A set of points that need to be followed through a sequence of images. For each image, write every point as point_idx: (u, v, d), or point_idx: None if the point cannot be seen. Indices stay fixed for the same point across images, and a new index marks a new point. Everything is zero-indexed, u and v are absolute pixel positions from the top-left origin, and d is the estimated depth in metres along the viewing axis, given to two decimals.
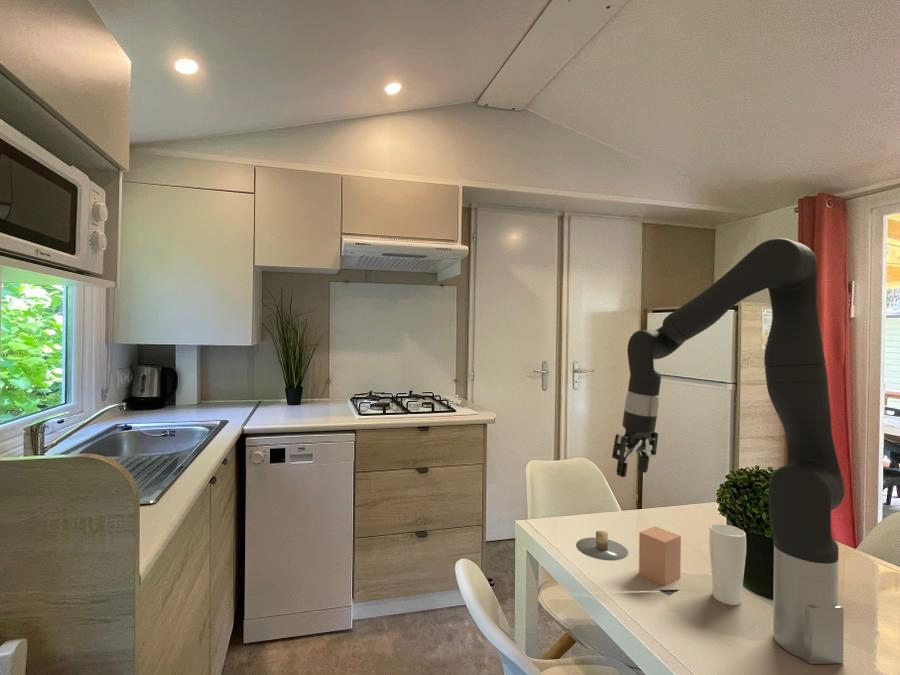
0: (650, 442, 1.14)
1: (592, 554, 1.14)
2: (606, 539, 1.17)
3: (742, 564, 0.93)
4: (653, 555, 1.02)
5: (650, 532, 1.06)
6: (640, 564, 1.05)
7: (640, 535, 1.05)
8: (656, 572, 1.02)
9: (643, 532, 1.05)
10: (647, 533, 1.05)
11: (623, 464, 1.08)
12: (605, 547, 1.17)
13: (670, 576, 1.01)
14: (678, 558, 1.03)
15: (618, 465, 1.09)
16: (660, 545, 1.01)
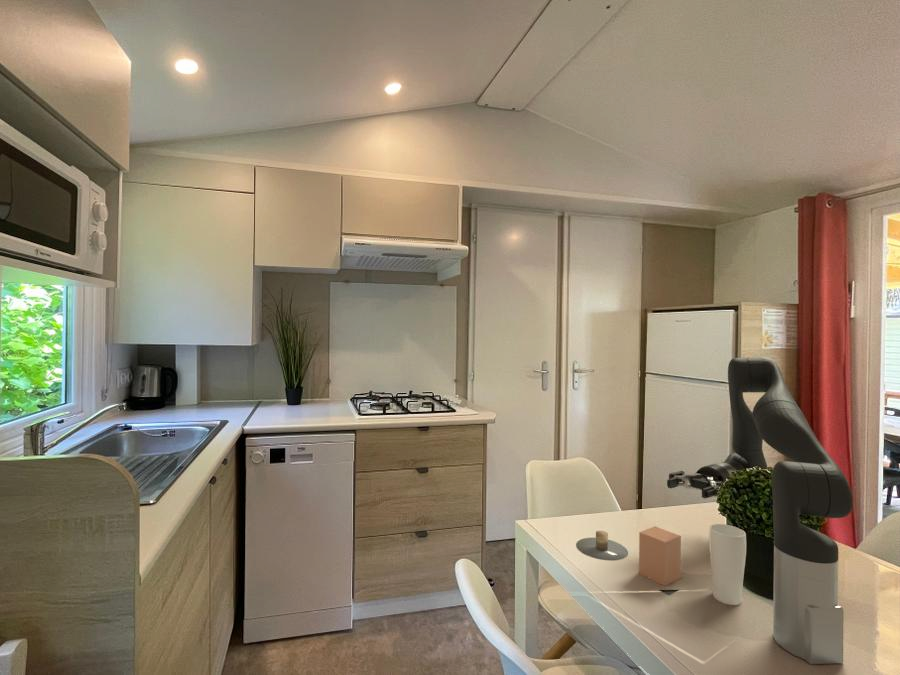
0: None
1: (592, 554, 1.14)
2: (606, 539, 1.17)
3: (742, 564, 0.93)
4: (653, 555, 1.02)
5: (650, 532, 1.06)
6: (640, 564, 1.05)
7: (640, 535, 1.05)
8: (656, 572, 1.02)
9: (643, 532, 1.05)
10: (647, 533, 1.05)
11: None
12: (605, 547, 1.17)
13: (670, 576, 1.01)
14: (678, 558, 1.03)
15: None
16: (660, 545, 1.01)
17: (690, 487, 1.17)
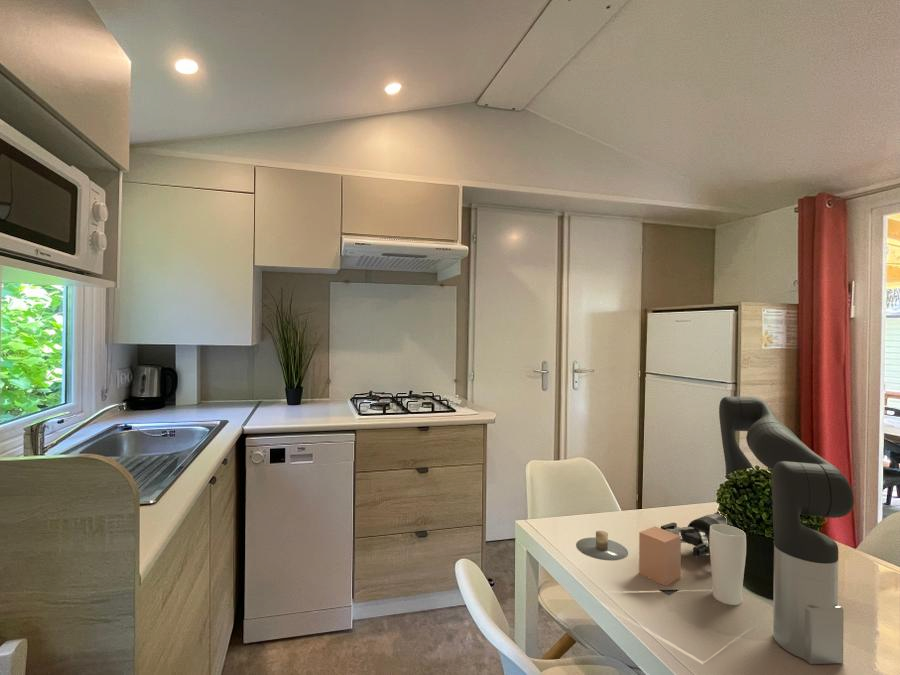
0: None
1: (592, 554, 1.14)
2: (606, 539, 1.17)
3: (742, 564, 0.93)
4: (653, 555, 1.02)
5: (650, 532, 1.06)
6: (640, 564, 1.05)
7: (640, 535, 1.05)
8: (656, 572, 1.02)
9: (643, 532, 1.05)
10: (647, 533, 1.05)
11: None
12: (605, 547, 1.17)
13: (670, 576, 1.01)
14: (678, 558, 1.03)
15: None
16: (660, 545, 1.01)
17: (682, 541, 1.14)
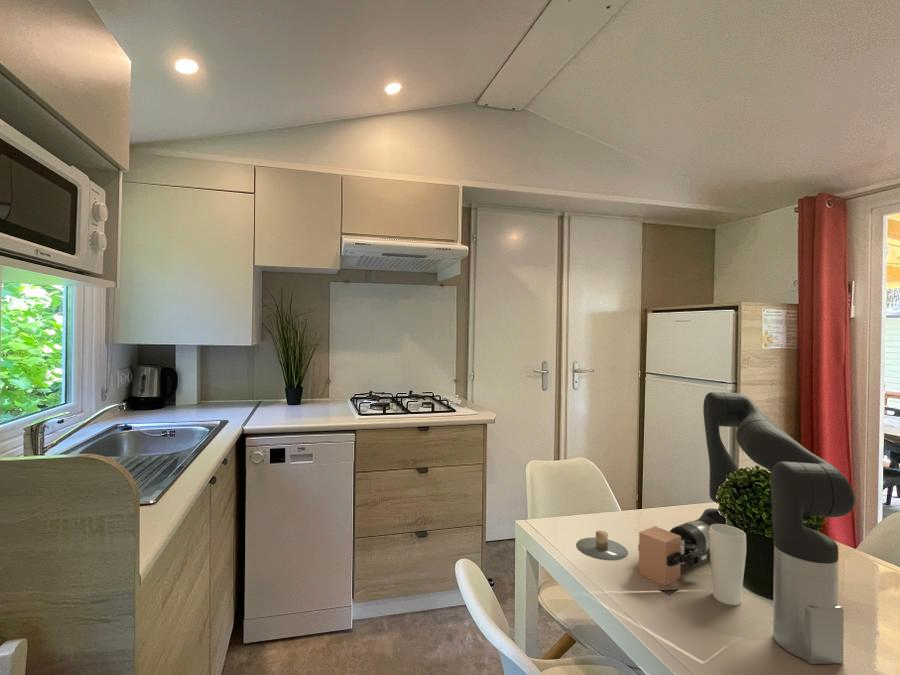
0: None
1: (592, 554, 1.14)
2: (606, 539, 1.17)
3: (742, 564, 0.93)
4: (653, 555, 1.02)
5: (650, 532, 1.06)
6: (640, 564, 1.05)
7: (640, 535, 1.05)
8: (656, 572, 1.02)
9: (643, 532, 1.05)
10: (647, 533, 1.05)
11: None
12: (605, 547, 1.17)
13: (670, 576, 1.01)
14: None
15: None
16: (660, 545, 1.01)
17: None
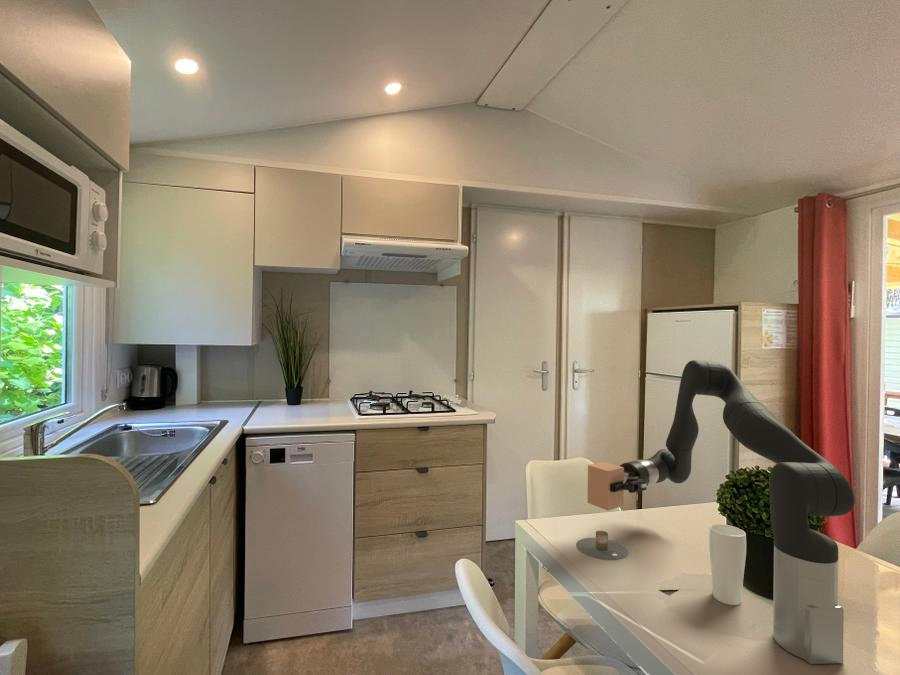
0: None
1: (592, 554, 1.14)
2: (606, 539, 1.17)
3: (742, 564, 0.93)
4: (599, 484, 1.16)
5: (598, 465, 1.19)
6: (588, 493, 1.18)
7: (588, 467, 1.18)
8: (601, 498, 1.15)
9: (591, 465, 1.19)
10: (594, 465, 1.18)
11: None
12: (605, 547, 1.17)
13: (613, 501, 1.15)
14: None
15: None
16: (604, 474, 1.14)
17: None
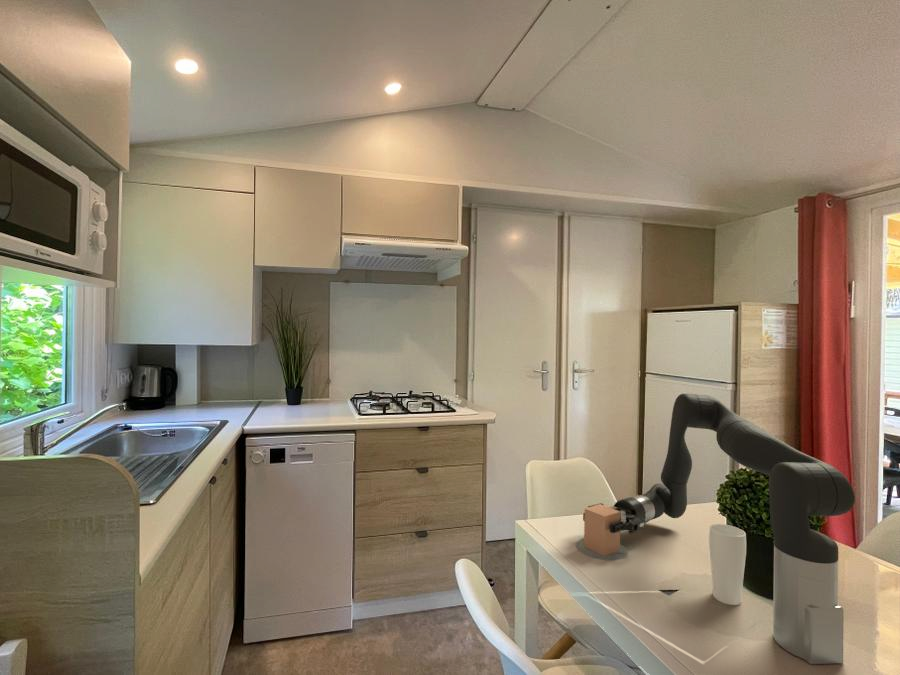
0: None
1: (592, 554, 1.14)
2: None
3: (742, 564, 0.93)
4: (595, 528, 1.16)
5: (594, 508, 1.19)
6: (585, 537, 1.19)
7: (585, 511, 1.19)
8: (597, 543, 1.15)
9: (588, 508, 1.19)
10: (591, 509, 1.18)
11: None
12: None
13: (609, 546, 1.15)
14: None
15: None
16: (600, 519, 1.15)
17: None
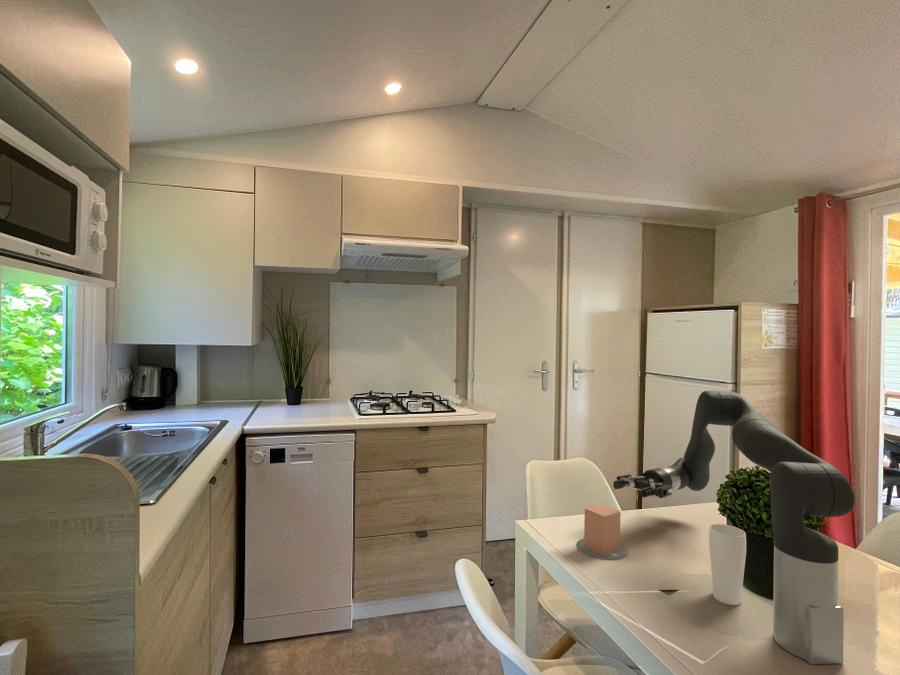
0: None
1: (592, 554, 1.14)
2: None
3: (742, 564, 0.93)
4: (595, 528, 1.16)
5: (594, 508, 1.19)
6: (585, 537, 1.19)
7: (585, 511, 1.19)
8: (597, 543, 1.15)
9: (588, 508, 1.19)
10: (591, 509, 1.18)
11: None
12: None
13: (609, 546, 1.15)
14: (618, 531, 1.17)
15: None
16: (601, 519, 1.15)
17: (634, 488, 1.29)
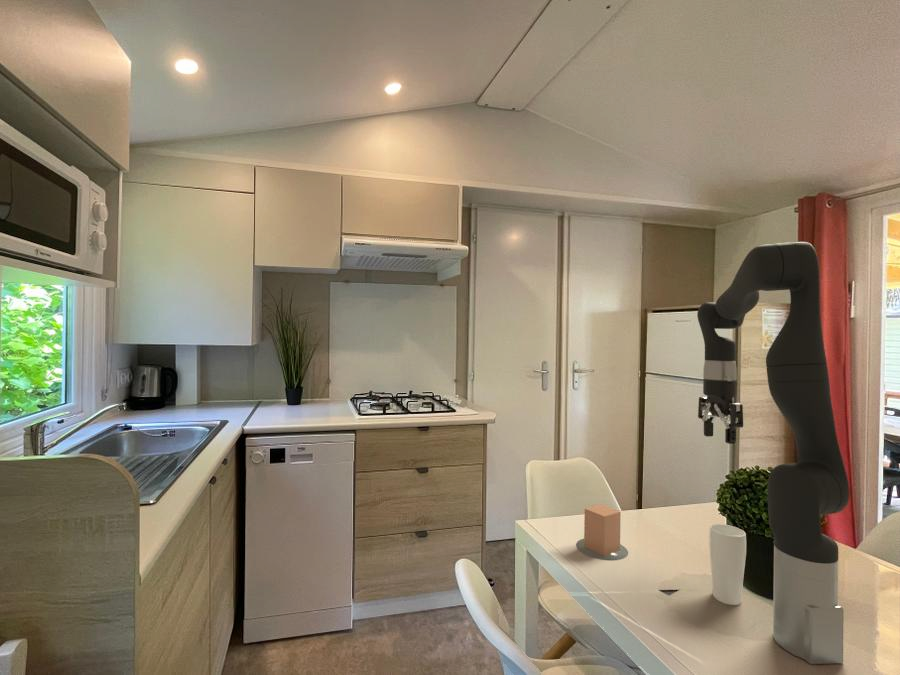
0: None
1: (592, 554, 1.14)
2: None
3: (742, 564, 0.93)
4: (595, 528, 1.16)
5: (594, 508, 1.19)
6: (585, 537, 1.19)
7: (585, 511, 1.19)
8: (597, 543, 1.15)
9: (588, 508, 1.19)
10: (591, 509, 1.18)
11: None
12: None
13: (609, 546, 1.15)
14: (618, 531, 1.17)
15: None
16: (601, 519, 1.15)
17: None
